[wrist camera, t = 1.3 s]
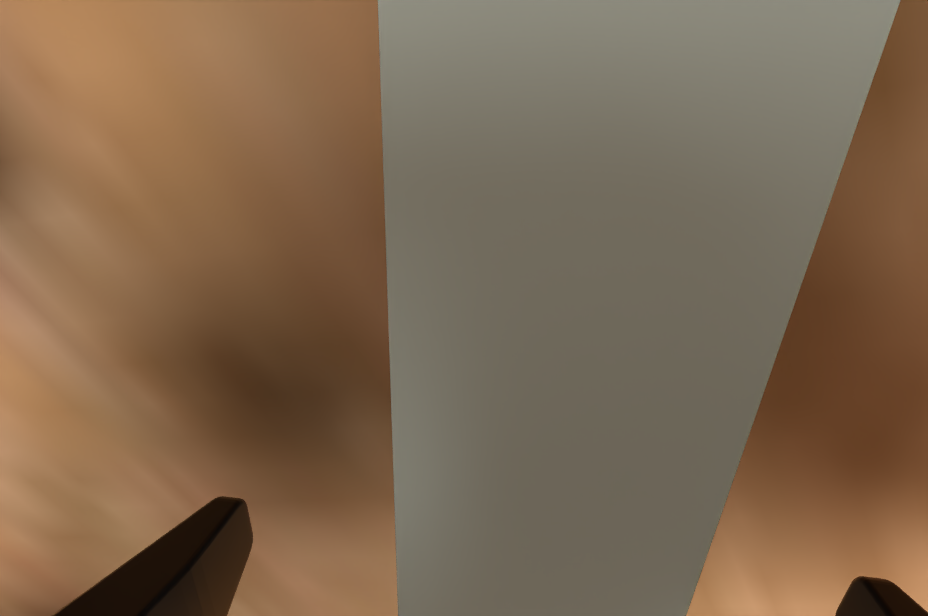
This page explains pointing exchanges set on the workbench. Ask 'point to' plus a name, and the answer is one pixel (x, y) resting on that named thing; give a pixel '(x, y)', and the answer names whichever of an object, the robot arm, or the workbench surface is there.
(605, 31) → the grey rectangular block
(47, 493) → the workbench surface
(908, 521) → the workbench surface
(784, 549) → the workbench surface
